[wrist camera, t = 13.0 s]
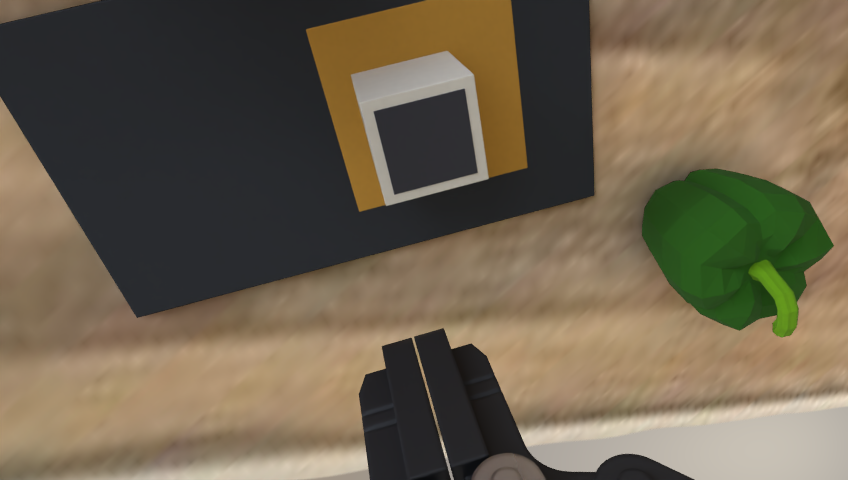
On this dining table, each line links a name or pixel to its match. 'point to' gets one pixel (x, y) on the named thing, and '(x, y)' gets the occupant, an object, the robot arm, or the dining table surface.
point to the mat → (281, 128)
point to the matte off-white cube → (422, 126)
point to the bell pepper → (735, 246)
